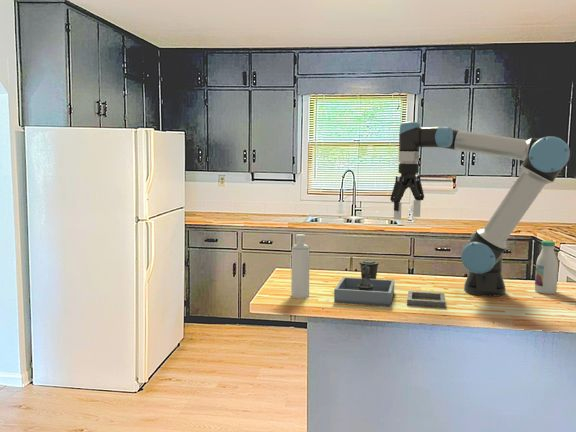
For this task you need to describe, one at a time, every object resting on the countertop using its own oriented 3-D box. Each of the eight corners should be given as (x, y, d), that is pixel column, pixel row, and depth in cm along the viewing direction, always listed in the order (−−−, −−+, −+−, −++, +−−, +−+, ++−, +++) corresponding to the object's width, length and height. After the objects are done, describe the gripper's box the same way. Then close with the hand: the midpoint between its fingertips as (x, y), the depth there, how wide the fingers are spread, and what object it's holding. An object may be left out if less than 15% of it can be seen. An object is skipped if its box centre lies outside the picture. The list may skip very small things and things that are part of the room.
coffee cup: (364, 281, 226) (364, 258, 225) (382, 284, 221) (382, 260, 220) (355, 285, 219) (355, 261, 218) (373, 288, 214) (373, 263, 213)
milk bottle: (556, 290, 210) (559, 240, 208) (556, 295, 203) (559, 243, 201) (534, 288, 214) (537, 239, 211) (534, 293, 207) (537, 242, 204)
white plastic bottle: (297, 292, 206) (298, 228, 204) (312, 295, 203) (312, 230, 200) (287, 296, 201) (288, 230, 198) (302, 299, 197) (303, 232, 194)
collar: (444, 298, 199) (444, 293, 198) (445, 308, 186) (445, 302, 186) (408, 296, 202) (408, 290, 202) (407, 305, 189) (407, 299, 189)
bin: (394, 292, 207) (394, 280, 206) (390, 306, 187) (390, 292, 187) (342, 289, 212) (343, 277, 211) (334, 302, 192) (334, 289, 192)
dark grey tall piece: (376, 294, 200) (377, 263, 198) (367, 297, 195) (368, 265, 194) (363, 292, 204) (363, 261, 202) (354, 295, 199) (354, 263, 198)
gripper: (398, 163, 193) (397, 221, 196) (434, 162, 211) (432, 216, 213) (381, 163, 199) (380, 219, 201) (417, 162, 216) (415, 214, 219)
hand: (407, 218), depth 207 cm, fingers open, 13 cm apart
